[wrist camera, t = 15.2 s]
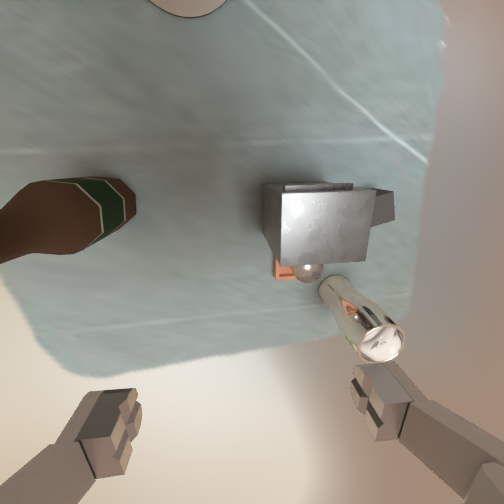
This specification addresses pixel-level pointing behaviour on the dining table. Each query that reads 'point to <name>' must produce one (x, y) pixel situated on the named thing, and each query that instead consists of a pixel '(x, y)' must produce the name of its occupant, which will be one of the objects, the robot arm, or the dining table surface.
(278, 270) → the tray
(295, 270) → the cylinder
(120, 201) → the beer bottle
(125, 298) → the dining table surface
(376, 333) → the beer glass
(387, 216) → the rubber block
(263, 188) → the dark grey block
